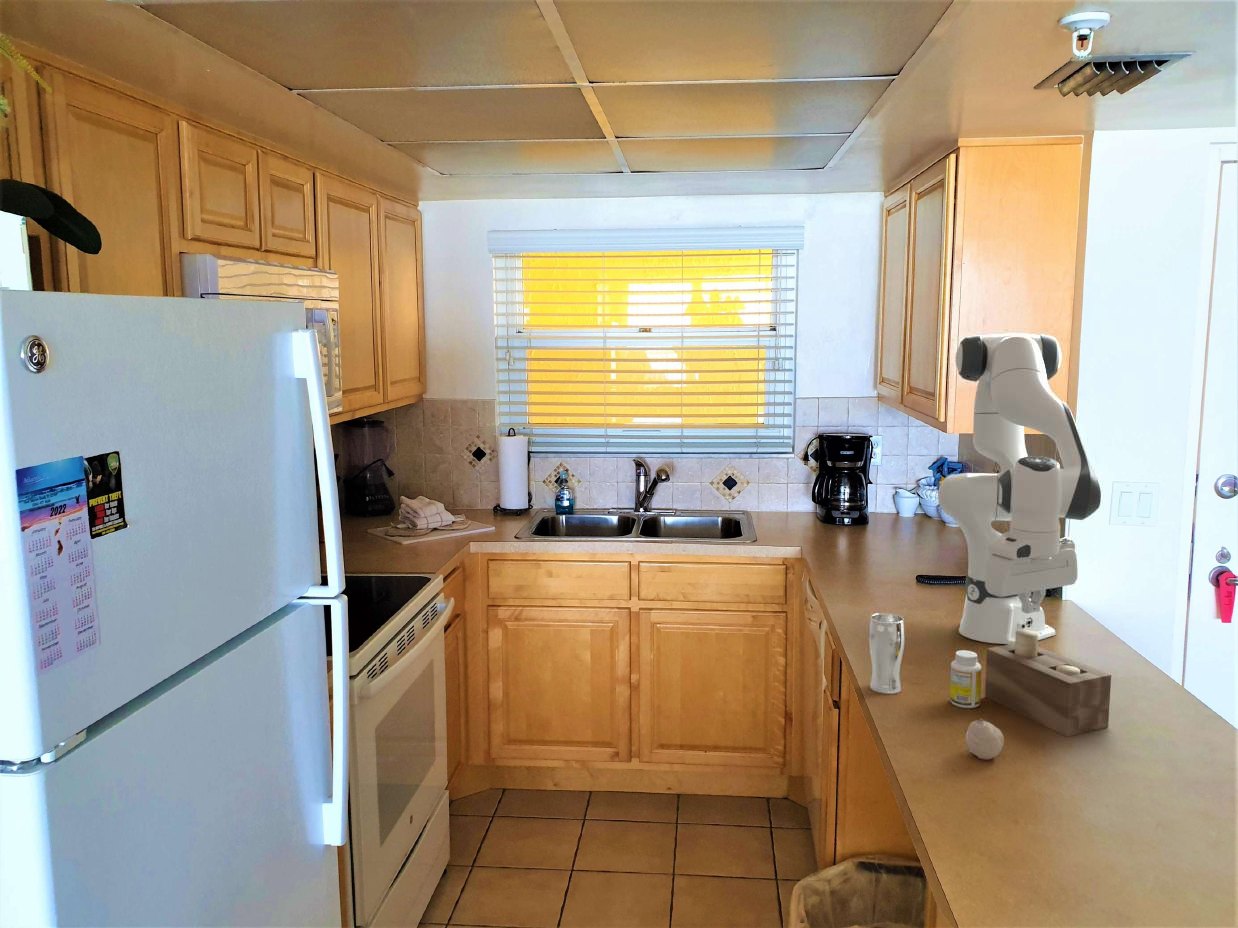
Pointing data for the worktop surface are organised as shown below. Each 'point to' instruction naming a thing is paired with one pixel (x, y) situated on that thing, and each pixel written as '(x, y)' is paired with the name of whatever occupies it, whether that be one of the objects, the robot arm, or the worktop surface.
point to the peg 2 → (1068, 670)
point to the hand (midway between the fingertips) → (1030, 611)
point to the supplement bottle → (965, 680)
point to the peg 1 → (1026, 643)
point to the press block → (1048, 690)
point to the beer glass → (886, 651)
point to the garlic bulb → (984, 739)
